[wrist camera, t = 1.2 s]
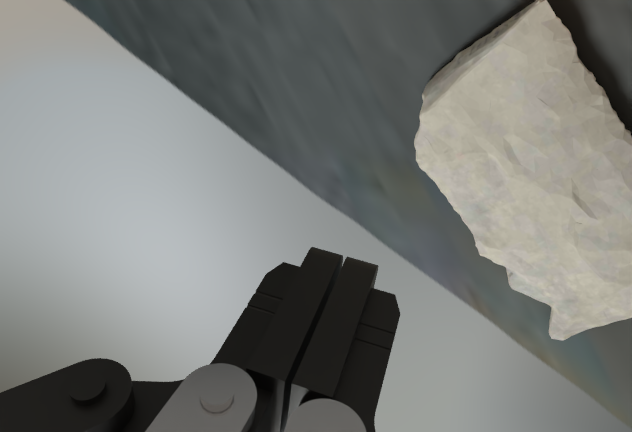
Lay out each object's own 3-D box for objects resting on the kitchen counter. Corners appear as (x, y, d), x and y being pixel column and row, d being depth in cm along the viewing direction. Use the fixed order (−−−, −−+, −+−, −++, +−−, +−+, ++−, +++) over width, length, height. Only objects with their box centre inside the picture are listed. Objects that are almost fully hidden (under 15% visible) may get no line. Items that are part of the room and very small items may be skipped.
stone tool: (718, 274, 37) (553, -18, 30) (736, 311, 34) (558, -4, 27) (545, 323, 45) (379, 97, 38) (547, 357, 42) (368, 118, 35)
